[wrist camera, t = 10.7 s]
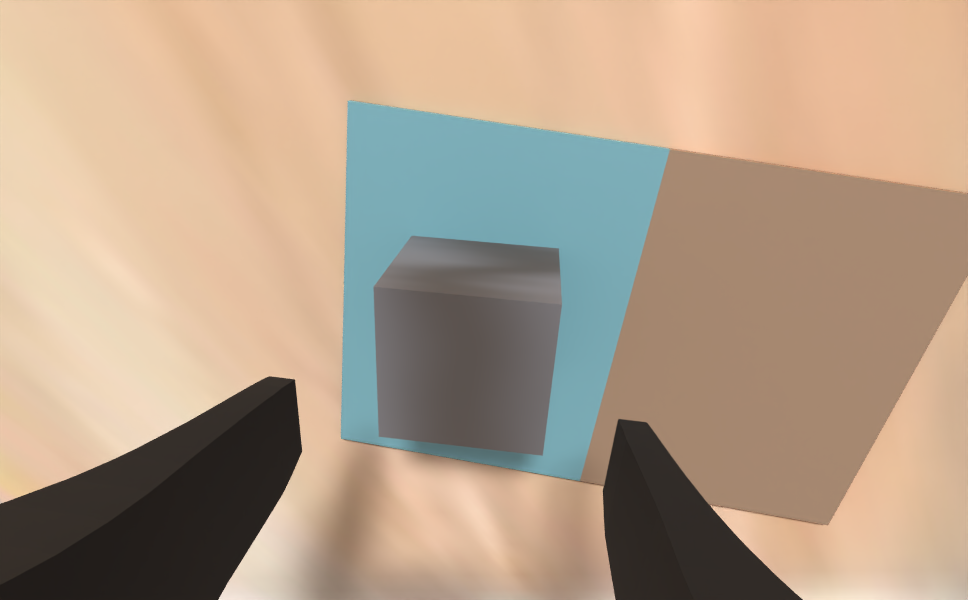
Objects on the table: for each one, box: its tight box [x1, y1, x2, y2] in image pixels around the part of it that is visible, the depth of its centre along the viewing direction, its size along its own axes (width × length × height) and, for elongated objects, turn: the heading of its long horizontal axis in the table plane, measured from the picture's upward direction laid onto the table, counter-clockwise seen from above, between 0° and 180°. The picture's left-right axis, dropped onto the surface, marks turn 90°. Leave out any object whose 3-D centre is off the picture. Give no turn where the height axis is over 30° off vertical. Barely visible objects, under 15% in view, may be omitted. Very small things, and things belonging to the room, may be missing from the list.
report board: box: [341, 101, 968, 525], centre depth 17 cm, size 18×12×1 cm, turn 82°
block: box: [373, 236, 562, 456], centre depth 15 cm, size 4×4×4 cm
